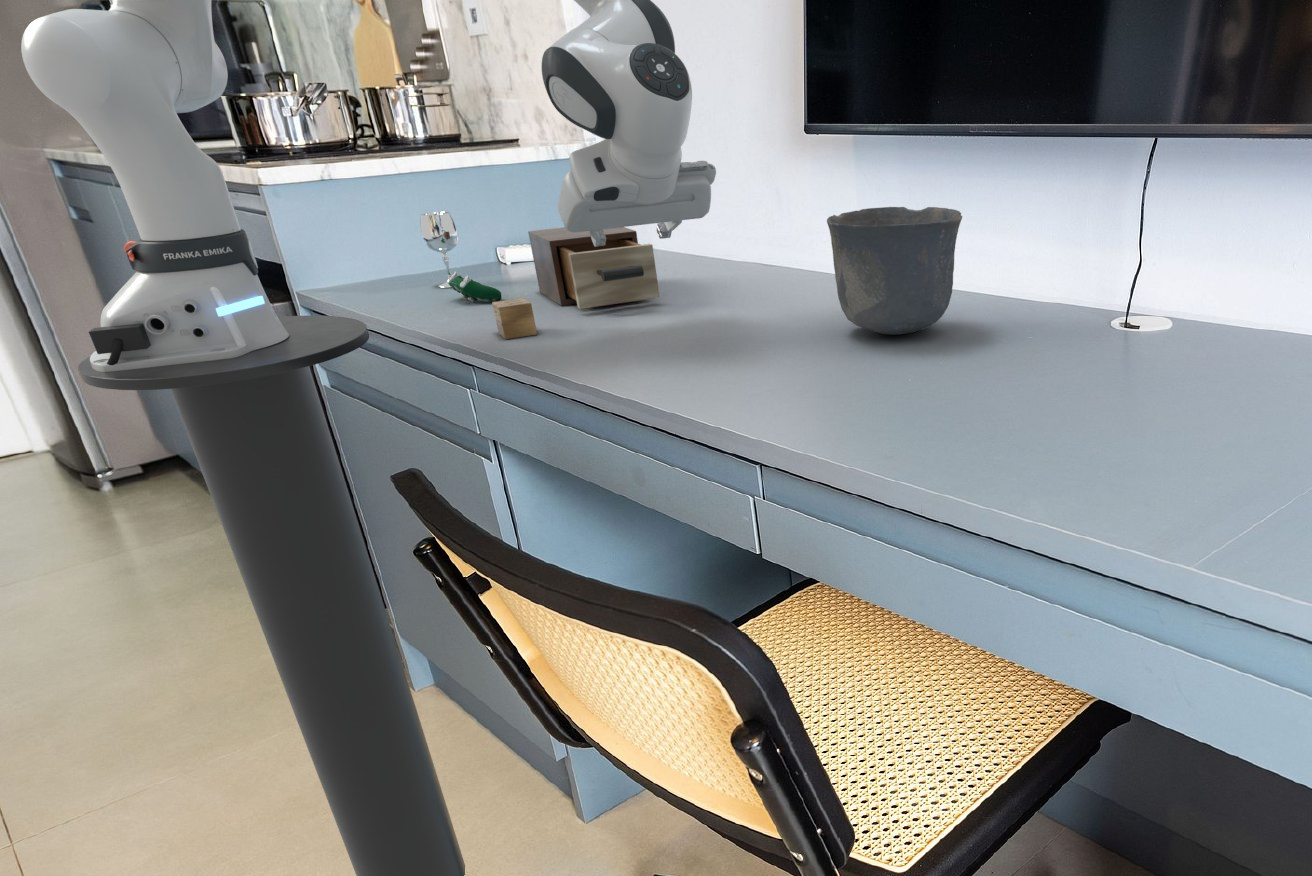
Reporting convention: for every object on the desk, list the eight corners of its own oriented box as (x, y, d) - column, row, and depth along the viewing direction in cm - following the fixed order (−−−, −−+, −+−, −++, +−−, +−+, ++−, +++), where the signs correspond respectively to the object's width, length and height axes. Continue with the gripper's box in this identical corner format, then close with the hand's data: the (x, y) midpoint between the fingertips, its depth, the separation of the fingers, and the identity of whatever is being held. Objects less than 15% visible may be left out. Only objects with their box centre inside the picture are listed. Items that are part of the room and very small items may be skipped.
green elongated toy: (473, 306, 169) (441, 284, 164) (484, 287, 169) (453, 265, 165) (493, 314, 162) (460, 292, 158) (505, 294, 163) (473, 271, 158)
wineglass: (462, 280, 181) (446, 210, 175) (473, 284, 177) (457, 212, 171) (429, 285, 177) (412, 213, 172) (440, 289, 173) (423, 216, 168)
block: (505, 339, 139) (498, 307, 137) (498, 333, 142) (491, 302, 140) (537, 334, 141) (531, 302, 138) (530, 328, 144) (523, 297, 142)
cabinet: (645, 293, 163) (636, 230, 159) (561, 305, 157) (549, 240, 153) (619, 281, 174) (610, 222, 169) (539, 292, 168) (527, 231, 163)
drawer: (669, 301, 152) (662, 247, 149) (588, 313, 147) (578, 258, 143) (634, 285, 165) (626, 235, 162) (558, 295, 160) (548, 244, 156)
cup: (993, 331, 132) (995, 210, 125) (898, 358, 122) (894, 229, 115) (900, 312, 144) (897, 202, 137) (805, 336, 133) (797, 217, 126)
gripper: (710, 141, 133) (692, 212, 145) (556, 153, 124) (552, 227, 136) (727, 179, 132) (708, 247, 144) (573, 194, 123) (566, 265, 135)
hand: (631, 238), depth 140 cm, fingers open, 8 cm apart
